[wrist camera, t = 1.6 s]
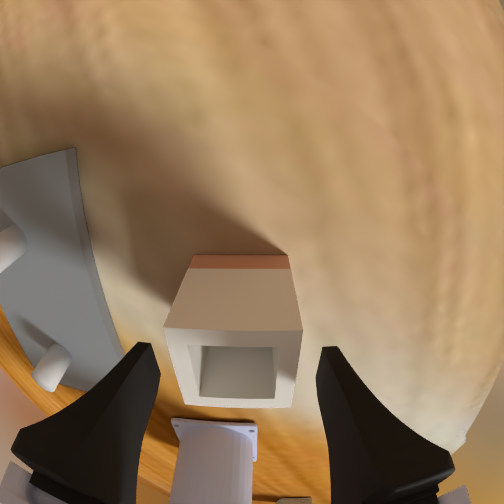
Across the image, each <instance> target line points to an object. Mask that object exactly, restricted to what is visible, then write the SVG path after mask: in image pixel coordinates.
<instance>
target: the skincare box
mask: <svg viewBox="0 0 504 504" xmlns="http://www.w3.org/2000/svg"><path fill="white" fill-rule="evenodd" d="M276 504H312V498H311V497H308V498H281V499H279V500H278V501H277V502H276Z"/></svg>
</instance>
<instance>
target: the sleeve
mask: <svg viewBox="0 0 504 504" xmlns="http://www.w3.org/2000/svg"><path fill="white" fill-rule="evenodd" d="M163 329H164V333H165V337H166V341H167V345H168V349H169V352H170V356H171V360H172V363H173V367H174V370H175V374H176V377H177V380H178V384H179V387H180V390H181V393H182V396H183V399H184V403H185V404H187V405H198V406H212V407H231V408H288V407H291V404H292V398H293V392H294V387H295V381H296V374H297V368H298V362H299V355H300V348H301V341H302V334H303V328H302V322H301V317H300V312H299V307H298V302H297V297H296V292H295V287H294V283H293V278H292V273H291V268H290V264H289V259H288V255H194V256H193V258H192V261H191V263H190V265H189V267H188V270H187V272H186V274H185V277H184V279H183V281H182V283H181V286H180V288H179V290H178V293H177V295H176V297H175V300H174V302H173V304H172V307H171V309H170V312H169V314H168V317H167V319H166V321H165V324H164V326H163Z"/></svg>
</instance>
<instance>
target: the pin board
mask: <svg viewBox="0 0 504 504" xmlns="http://www.w3.org/2000/svg"><path fill="white" fill-rule="evenodd" d="M0 304H1V307H2V309H3V311H4V313H5V315H6V318H7V320H8V322H9V324H10V326H11V328H12V330H13V332H14V334H15V336H16V337H17V339H18V341H19V343H20V345H21V347H22V348H23V350H24V352H25V354H26V355H27V357H28V359H29V360H30V362H31V364H32V365H33V367H34V371H33V372H32V377H33V379H34V380H35V381H36V383H37V384H38V385H39V386H41V387H42V388H43V389H45V390H47V391H49V392H54V391H55V389H56V387H57V385H58V384H61V385H65V386H68V387H72V388H75V389H79V390H82V391H86V392H88V391H89V390H90V389H91V388H93V387H94V386H95V385H96V384H97V383H98V382H99V381H100V380H101V379H102V378H103V377H105V376H106V375H107V374H108V373H109V372H110V371H111V370H112V369H113V367H114V366H115V365H116V364H117V363H118V362H119V361H120V360H121V359H122V358H123V357H124V356H125V354H124V351H123V348H122V346H121V343H120V341H119V338H118V335H117V332H116V330H115V327H114V324H113V321H112V318H111V315H110V312H109V309H108V306H107V303H106V300H105V296H104V293H103V290H102V286H101V283H100V279H99V276H98V272H97V268H96V264H95V260H94V256H93V252H92V248H91V244H90V239H89V234H88V230H87V225H86V219H85V214H84V208H83V203H82V196H81V190H80V183H79V175H78V167H77V157H76V147H75V148H70V149H66V150H62V151H58V152H54V153H50V154H46V155H42V156H38V157H35V158H31V159H28V160H24V161H21V162H18V163H14V164H11V165H8V166H5V167H2V168H0Z"/></svg>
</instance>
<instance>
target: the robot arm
mask: <svg viewBox="0 0 504 504" xmlns="http://www.w3.org/2000/svg"><path fill="white" fill-rule="evenodd" d="M160 376H161V373H160V370H159V367H158V364H157V361H156V358H155V355H154V351H153V348H152V345H151V343H145V342H138V343H137V344H136V345H135V346H134V347H133V348H132V349H131V350H130V351H129V352H128V353H127V354H126V355H125V356H124V357H123V358H122V359H121V360H120V361H119V362H118V363H117V364H116V365H115V366H114V367H113V369H112V370H111V371H110V372H109V373H108V374H107V375H106V376H105V377H103V378H102V379H101V380H100V381H99V382H98V383H97V384H96V385H95V386H94V387H93V388H91V389H90V390H89V391H88V392H87V393H85V394H84V395H83V396H81V397H80V398H79V399H78V400H76V401H75V402H73V403H72V404H70V405H69V406H67V407H66V408H64V409H62V410H61V411H59V412H57V413H56V414H54V415H52V416H50V417H48V418H46V419H44V420H42V421H40V422H37V423H35V424H32V425H30V426H27V427H24V428H22V429H20V431H19V433H18V435H17V437H16V439H15V441H14V443H13V445H12V447H11V451H12V453H13V454H14V455H15V456H16V457H17V458H19V459H20V460H21V461H22V462H24V463H25V464H26V465H28V466H29V467H30V468H31V469H33V470H34V471H33V474H30V473H29V472H28V471H26V470H24V469H23V468H21V467H20V466H18V465H16V464H15V463H13V462H12V461H11V462H10V463H9V465H8V468H7V470H6V472H5V475H4V477H3V480H2V482H1V485H0V502H1V503H2V504H136V485H137V474H138V465H139V458H140V452H141V446H142V441H143V437H144V433H145V430H146V427H147V423H148V420H149V417H150V414H151V411H152V408H153V405H154V402H155V399H156V396H157V392H158V387H159V382H160ZM316 387H317V397H318V402H319V407H320V411H321V416H322V420H323V425H324V429H325V434H326V438H327V444H328V451H329V462H330V478H331V504H471V501H470V498H469V494H468V491H467V488H466V485H462V486H461V487H458V488H456V489H454V490H452V491H450V492H448V493H446V494H444V495H442V496H440V497H438V498H437V495H436V493H437V492H438V491H439V488H438V484H439V483H440V482H442V481H443V480H445V479H446V478H447V477H449V476H450V475H451V474H452V473H453V472H454V471H455V467H454V464H453V461H452V458H451V456H450V453H449V451H447V450H445V449H443V448H441V447H439V446H437V445H435V444H433V443H431V442H430V441H428V440H426V439H425V438H423V437H422V436H420V435H419V434H417V433H416V432H414V431H413V430H412V429H410V428H409V427H408V426H406V425H405V424H404V423H402V422H401V421H400V420H399V419H398V418H397V417H395V416H394V415H393V414H392V413H391V412H390V411H389V410H388V409H387V408H386V407H385V406H384V405H383V404H382V403H381V402H380V401H379V400H378V399H377V398H376V397H375V396H374V394H373V393H372V392H371V391H370V390H369V389H368V388H367V386H366V385H365V384H364V383H363V381H362V380H361V379H360V377H359V376H358V375H357V374H356V372H355V371H354V370H353V368H352V367H351V365H350V364H349V363H348V361H347V360H346V358H345V357H344V355H343V354H342V352H341V351H340V349H339V348H338V347H337V346H329V347H322V352H321V356H320V361H319V365H318V370H317V374H316ZM171 424H172V426H173V428H174V430H175V432H176V435H177V437H178V439H179V441H180V445H179V450H178V455H177V461H176V466H175V472H174V477H173V483H172V488H171V494H170V500H169V504H252V469H253V462H255V461H257V424H255V423H234V422H215V421H202V420H191V419H182V418H172V419H171Z"/></svg>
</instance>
